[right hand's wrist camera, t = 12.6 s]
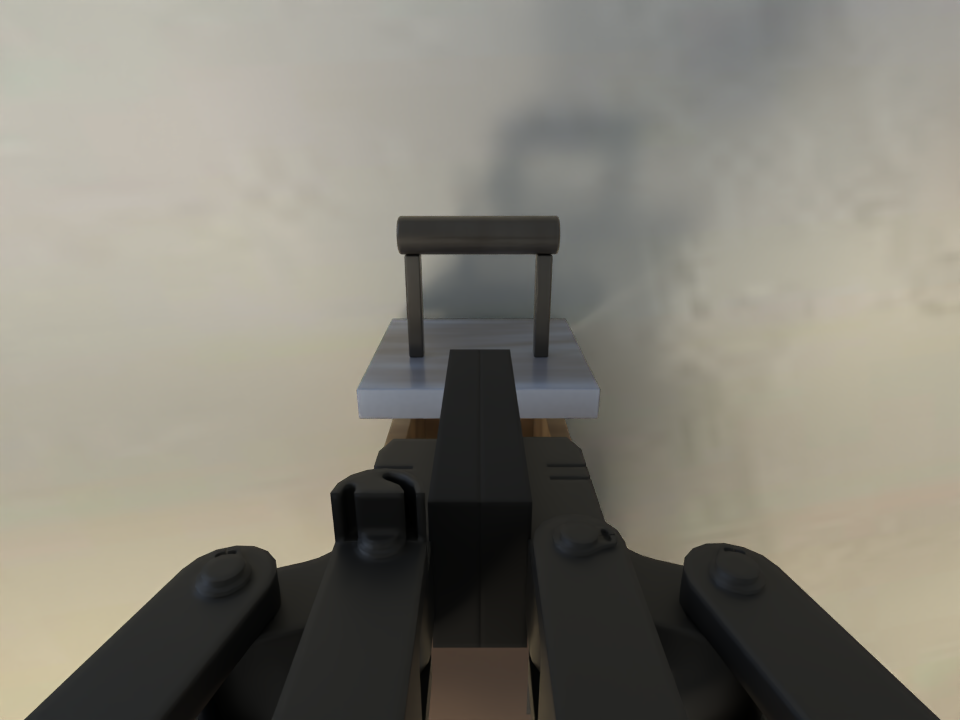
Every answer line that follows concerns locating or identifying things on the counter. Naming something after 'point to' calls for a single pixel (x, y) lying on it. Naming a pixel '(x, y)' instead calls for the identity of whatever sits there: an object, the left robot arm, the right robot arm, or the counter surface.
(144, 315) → the counter surface
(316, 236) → the counter surface
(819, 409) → the counter surface
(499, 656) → the cabinet
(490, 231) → the drawer
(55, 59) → the counter surface
